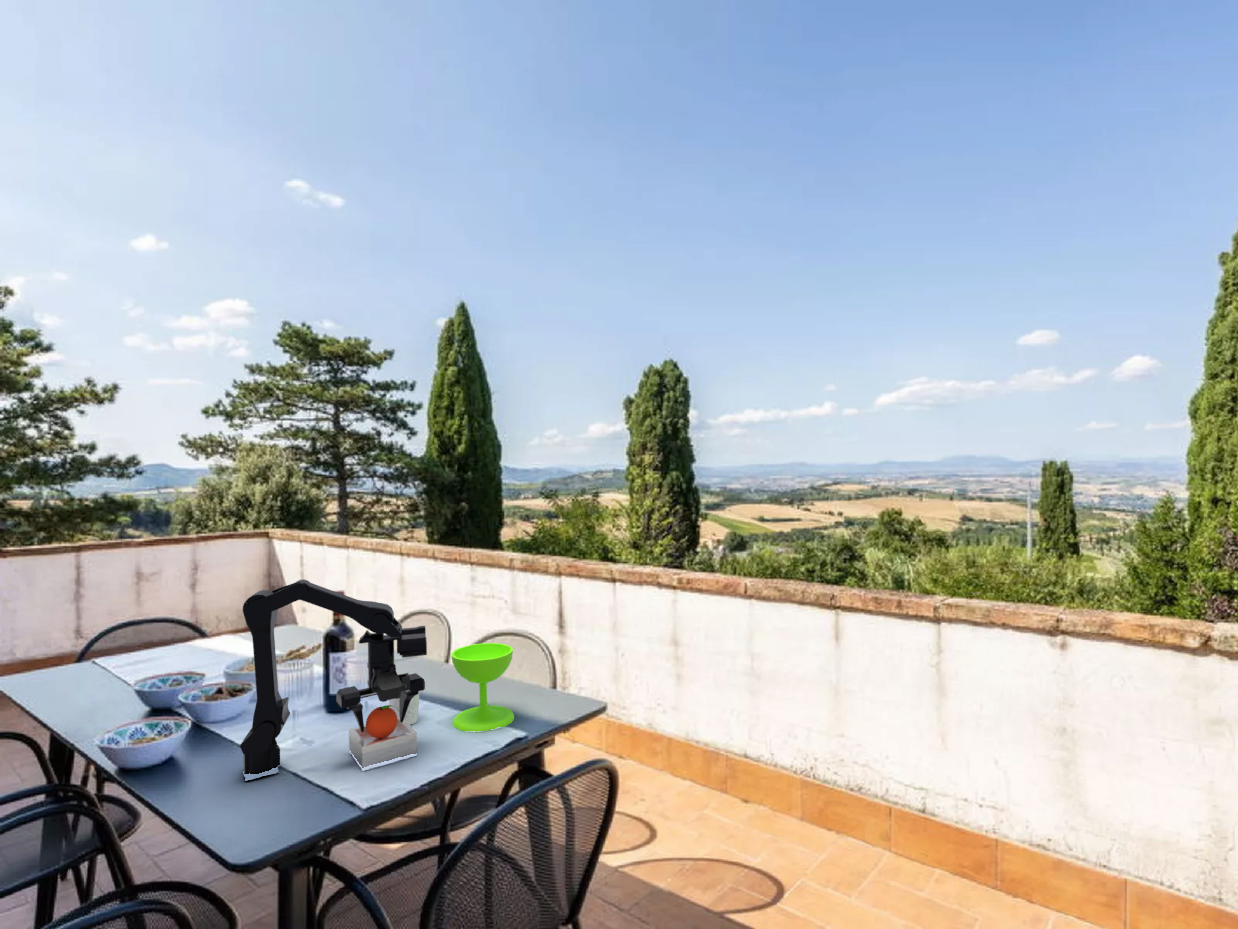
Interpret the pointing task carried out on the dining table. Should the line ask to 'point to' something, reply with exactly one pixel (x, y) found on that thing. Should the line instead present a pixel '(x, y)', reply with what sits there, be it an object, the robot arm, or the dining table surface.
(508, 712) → the wineglass
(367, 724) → the clementine
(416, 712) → the white cup
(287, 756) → the dining table surface
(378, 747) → the tray
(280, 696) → the robot arm
